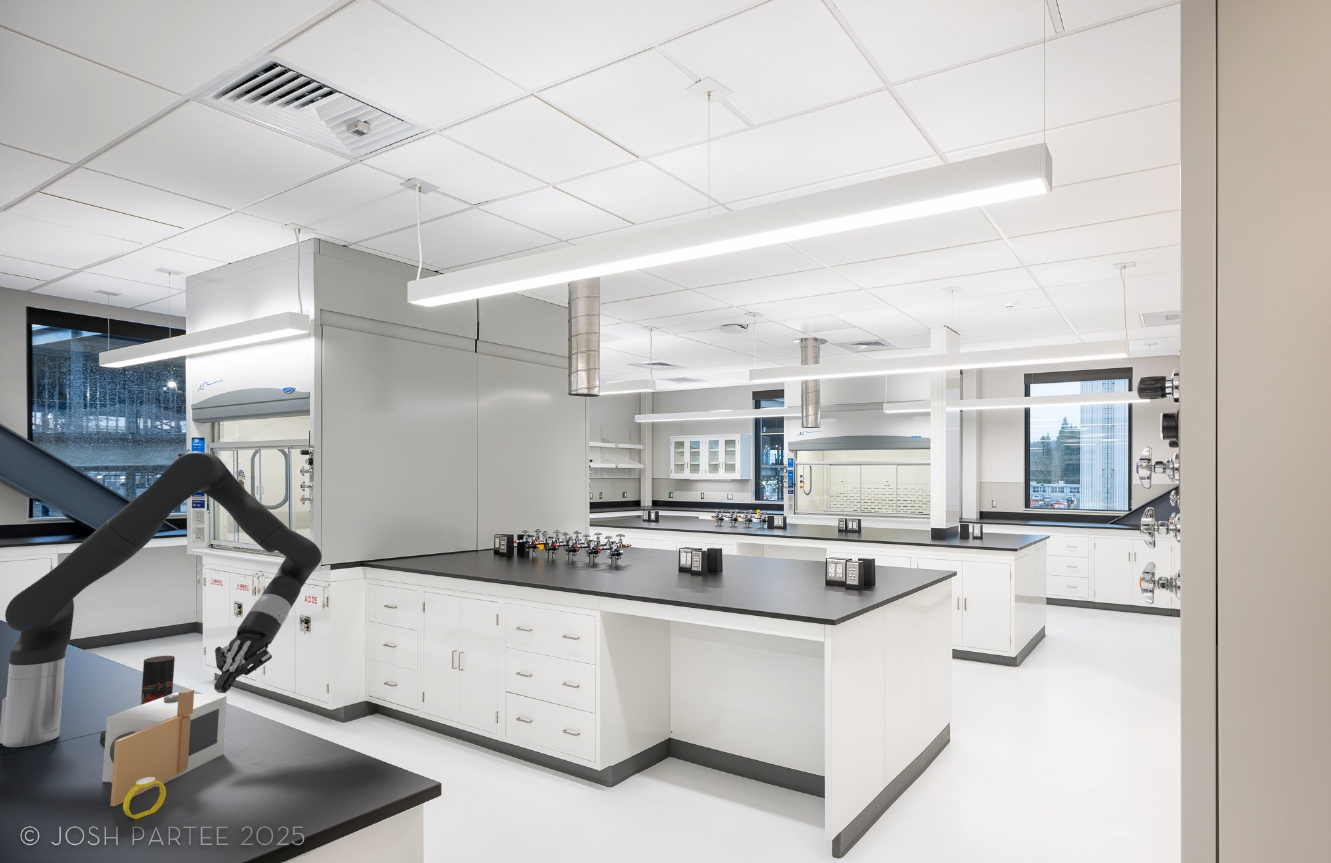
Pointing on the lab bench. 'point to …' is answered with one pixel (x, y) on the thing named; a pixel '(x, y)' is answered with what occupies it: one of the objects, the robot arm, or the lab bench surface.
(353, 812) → the lab bench surface
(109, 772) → the box
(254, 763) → the lab bench surface
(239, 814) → the lab bench surface
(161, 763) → the side door
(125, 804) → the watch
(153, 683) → the deodorant
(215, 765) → the lab bench surface
